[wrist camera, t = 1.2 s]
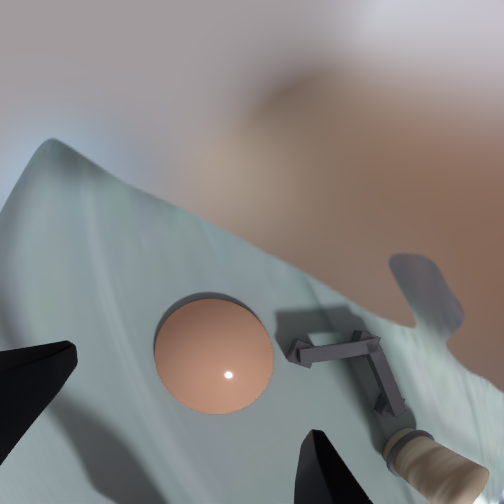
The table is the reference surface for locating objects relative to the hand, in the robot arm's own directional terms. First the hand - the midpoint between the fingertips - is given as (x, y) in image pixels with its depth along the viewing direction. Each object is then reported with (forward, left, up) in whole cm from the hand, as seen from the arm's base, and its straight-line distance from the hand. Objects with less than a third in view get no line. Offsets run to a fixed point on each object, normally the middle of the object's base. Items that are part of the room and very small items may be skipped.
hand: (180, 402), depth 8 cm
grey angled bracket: (+3, -12, -16) cm, 20 cm away
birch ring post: (-5, -22, -16) cm, 28 cm away
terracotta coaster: (-1, +1, -16) cm, 16 cm away
